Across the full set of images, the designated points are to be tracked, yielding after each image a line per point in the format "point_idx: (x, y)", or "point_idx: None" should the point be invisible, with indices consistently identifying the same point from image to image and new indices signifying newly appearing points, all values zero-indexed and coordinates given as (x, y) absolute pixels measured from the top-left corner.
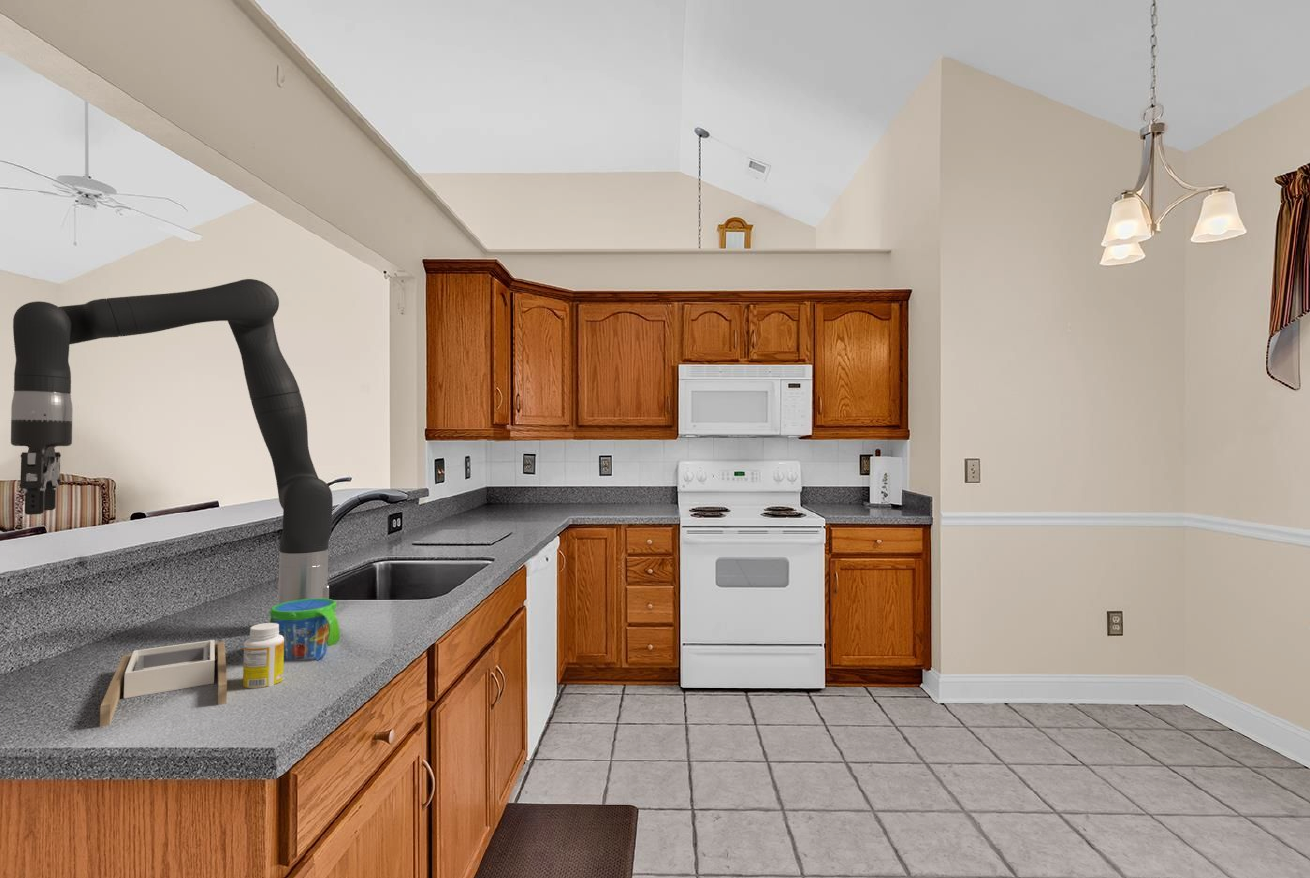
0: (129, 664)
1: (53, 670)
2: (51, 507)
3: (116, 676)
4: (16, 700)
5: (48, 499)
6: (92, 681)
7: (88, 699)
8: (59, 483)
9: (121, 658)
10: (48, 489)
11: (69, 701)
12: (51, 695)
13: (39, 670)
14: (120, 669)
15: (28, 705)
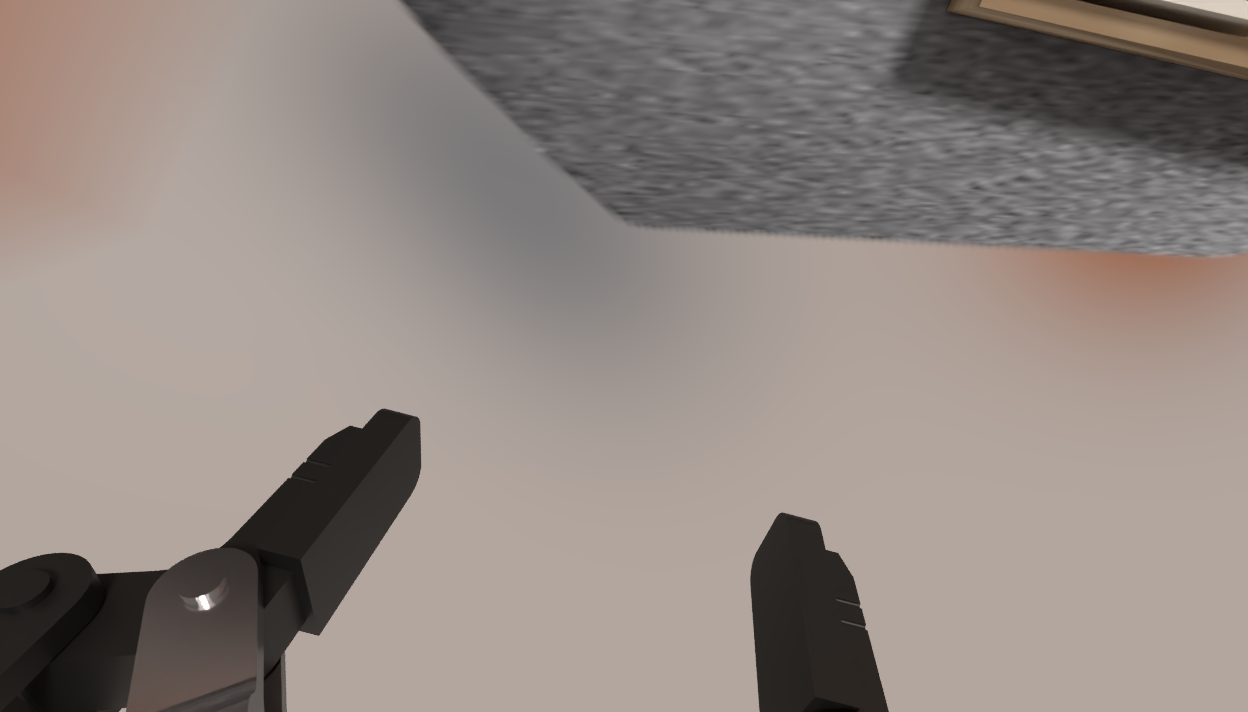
0: (1225, 10)
1: (683, 154)
2: (409, 437)
3: (1240, 55)
4: (886, 233)
5: (370, 505)
6: (884, 83)
7: (1052, 108)
8: (45, 562)
9: (1018, 15)
10: (300, 592)
11: (1019, 146)
12: (920, 174)
13: (657, 179)
14: (1165, 35)
15: (954, 217)
